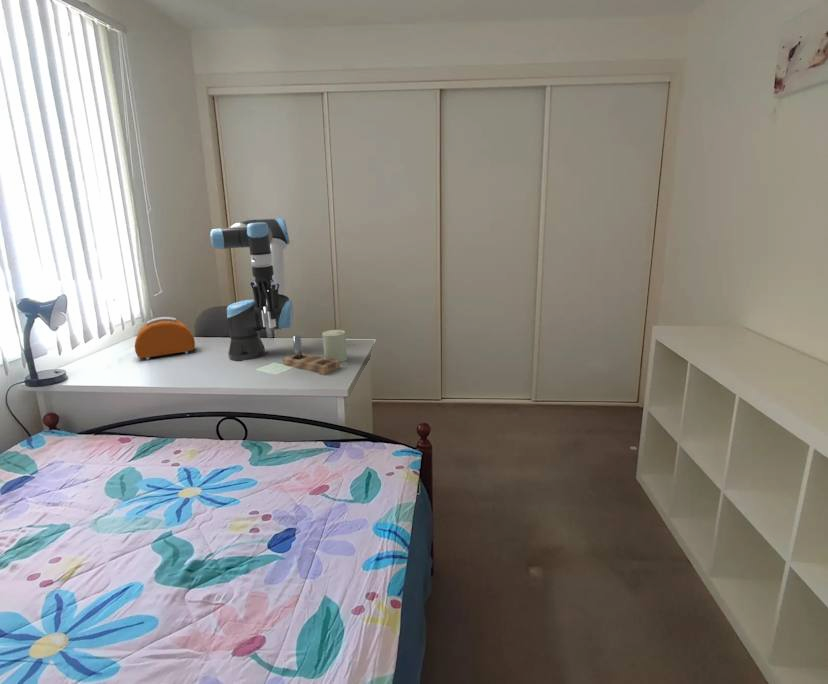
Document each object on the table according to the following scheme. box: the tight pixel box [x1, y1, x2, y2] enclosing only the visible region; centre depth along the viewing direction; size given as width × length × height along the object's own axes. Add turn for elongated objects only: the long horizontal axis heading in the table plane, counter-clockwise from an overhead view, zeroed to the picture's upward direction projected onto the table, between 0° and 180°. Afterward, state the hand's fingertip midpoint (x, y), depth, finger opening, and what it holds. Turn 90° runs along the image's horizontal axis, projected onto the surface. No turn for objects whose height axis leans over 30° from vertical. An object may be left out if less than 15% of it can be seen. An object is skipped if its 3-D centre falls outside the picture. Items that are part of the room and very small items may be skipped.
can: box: [321, 329, 348, 363], centre depth 210 cm, size 9×9×12 cm
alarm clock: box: [134, 316, 196, 361], centre depth 226 cm, size 23×9×17 cm, turn 115°
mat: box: [254, 362, 295, 376], centre depth 203 cm, size 12×10×1 cm
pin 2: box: [292, 334, 304, 360], centre depth 206 cm, size 3×3×12 cm
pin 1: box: [263, 305, 276, 339], centre depth 198 cm, size 3×3×12 cm
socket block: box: [282, 352, 341, 376], centre depth 204 cm, size 22×9×3 cm, turn 56°
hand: (269, 326), depth 199 cm, fingers closed on pin 1, 3 cm apart
